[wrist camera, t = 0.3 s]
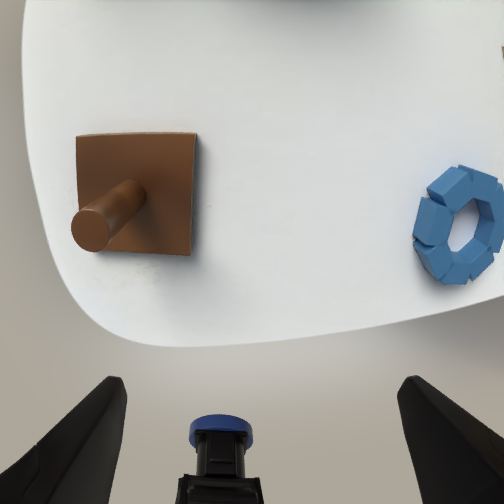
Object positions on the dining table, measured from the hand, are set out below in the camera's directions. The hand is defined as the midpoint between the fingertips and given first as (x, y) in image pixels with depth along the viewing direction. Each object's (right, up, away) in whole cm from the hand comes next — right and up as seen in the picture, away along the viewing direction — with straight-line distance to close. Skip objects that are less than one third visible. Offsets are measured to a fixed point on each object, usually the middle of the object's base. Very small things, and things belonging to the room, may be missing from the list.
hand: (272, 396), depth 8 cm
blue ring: (+19, +7, +16) cm, 26 cm away
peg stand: (-9, +9, +13) cm, 18 cm away
